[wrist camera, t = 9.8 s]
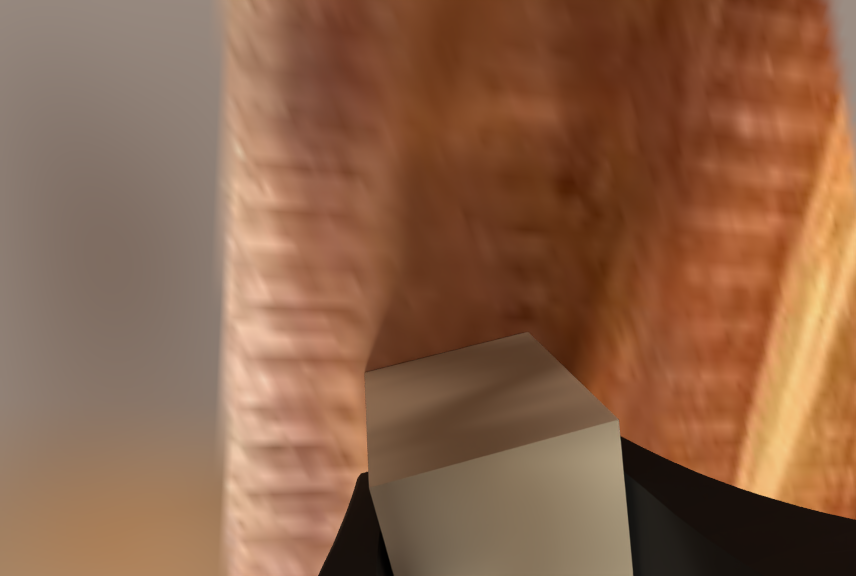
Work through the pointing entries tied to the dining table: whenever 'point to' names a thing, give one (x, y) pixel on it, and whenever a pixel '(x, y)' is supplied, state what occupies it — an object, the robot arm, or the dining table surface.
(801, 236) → the dining table surface
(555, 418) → the block
